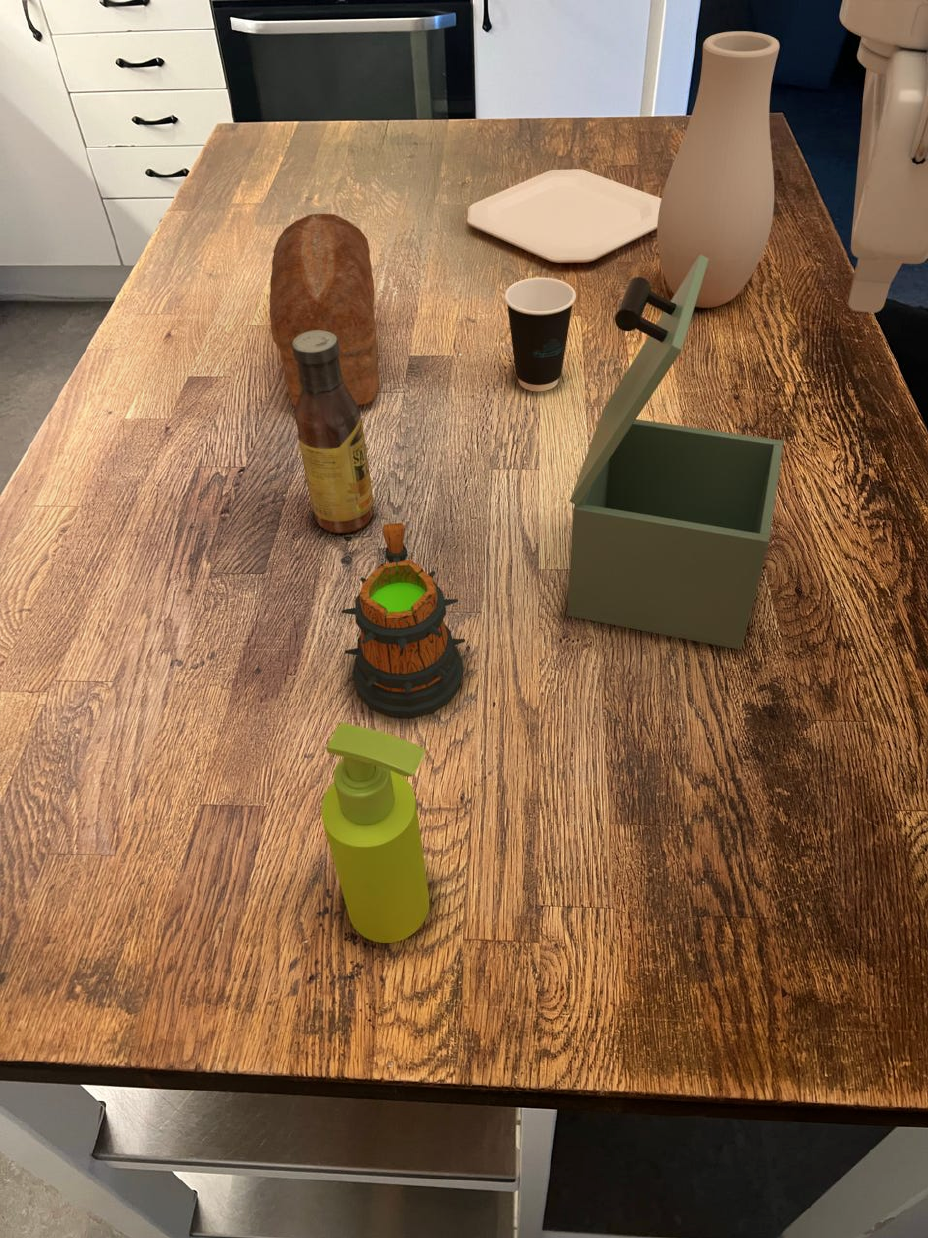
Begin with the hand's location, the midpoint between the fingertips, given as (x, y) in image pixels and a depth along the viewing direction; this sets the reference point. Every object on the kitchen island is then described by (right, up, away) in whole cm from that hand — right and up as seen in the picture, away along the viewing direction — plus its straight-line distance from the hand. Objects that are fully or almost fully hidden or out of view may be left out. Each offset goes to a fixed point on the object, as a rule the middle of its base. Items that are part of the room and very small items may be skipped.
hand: (866, 264), depth 55 cm
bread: (-39, +12, +65) cm, 77 cm away
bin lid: (-9, -2, +21) cm, 23 cm away
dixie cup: (-14, +8, +60) cm, 62 cm away
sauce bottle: (-35, -10, +44) cm, 57 cm away
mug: (-28, -24, +30) cm, 48 cm away
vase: (+8, +22, +71) cm, 75 cm away
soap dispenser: (-28, -41, +14) cm, 52 cm away
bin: (-4, -17, +36) cm, 39 cm away
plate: (-8, +38, +88) cm, 96 cm away
